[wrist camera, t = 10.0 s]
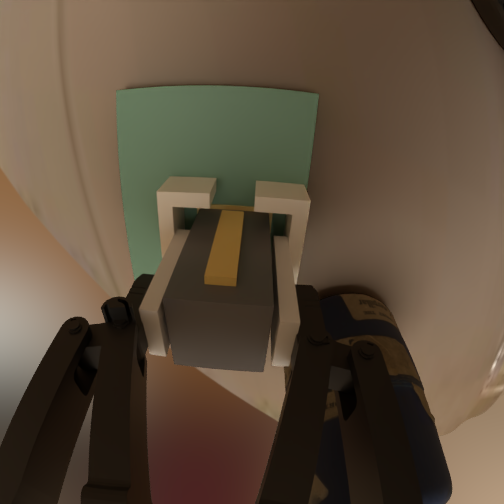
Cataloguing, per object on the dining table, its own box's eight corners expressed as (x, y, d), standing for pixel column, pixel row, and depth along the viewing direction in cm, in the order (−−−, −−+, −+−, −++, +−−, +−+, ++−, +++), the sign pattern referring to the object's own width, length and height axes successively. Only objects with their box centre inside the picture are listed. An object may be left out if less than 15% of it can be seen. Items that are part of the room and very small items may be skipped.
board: (124, 89, 15) (116, 90, 14) (314, 93, 15) (318, 94, 14) (140, 271, 21) (134, 281, 20) (288, 283, 22) (289, 293, 21)
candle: (303, 273, 21) (340, 556, 6) (409, 294, 22) (492, 500, 7) (268, 356, 26) (268, 556, 11) (360, 366, 27) (393, 537, 12)
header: (170, 176, 16) (156, 191, 14) (304, 184, 16) (310, 201, 14) (176, 283, 20) (168, 307, 18) (287, 291, 20) (289, 316, 18)
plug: (200, 201, 17) (161, 288, 10) (269, 206, 17) (274, 297, 10) (201, 265, 19) (174, 364, 13) (263, 269, 19) (263, 372, 13)
